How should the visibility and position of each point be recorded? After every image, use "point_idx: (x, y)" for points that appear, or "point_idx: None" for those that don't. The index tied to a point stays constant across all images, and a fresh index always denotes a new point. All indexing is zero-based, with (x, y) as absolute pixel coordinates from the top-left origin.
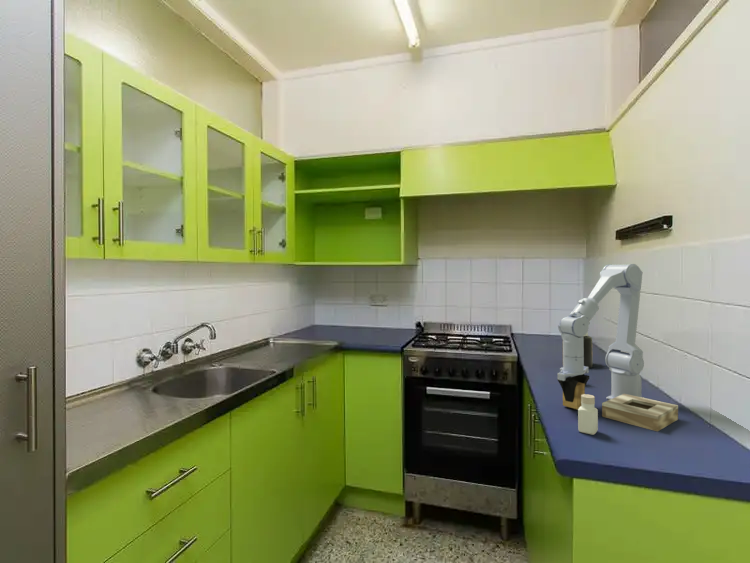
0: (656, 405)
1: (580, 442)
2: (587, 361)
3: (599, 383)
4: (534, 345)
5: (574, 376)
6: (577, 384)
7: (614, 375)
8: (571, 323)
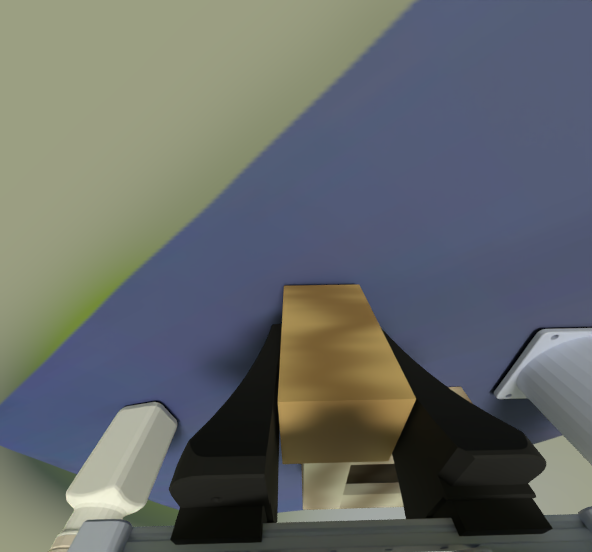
0: (400, 494)
1: (77, 427)
2: None
3: None
4: None
5: (436, 474)
6: (330, 453)
7: None
8: None
